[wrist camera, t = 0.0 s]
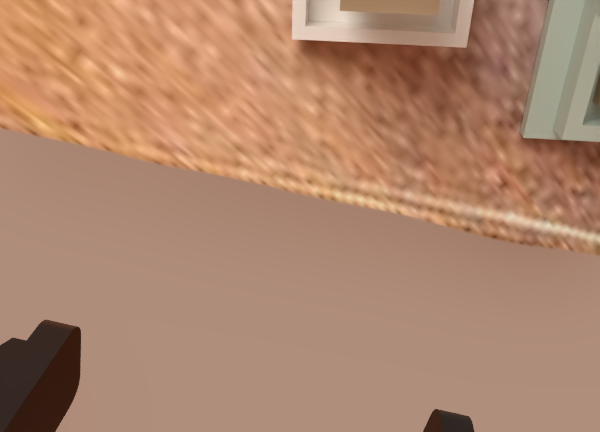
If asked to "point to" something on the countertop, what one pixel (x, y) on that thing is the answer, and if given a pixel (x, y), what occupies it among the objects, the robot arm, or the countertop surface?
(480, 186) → the countertop surface
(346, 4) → the block
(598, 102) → the block
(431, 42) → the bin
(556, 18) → the green slotted tray
